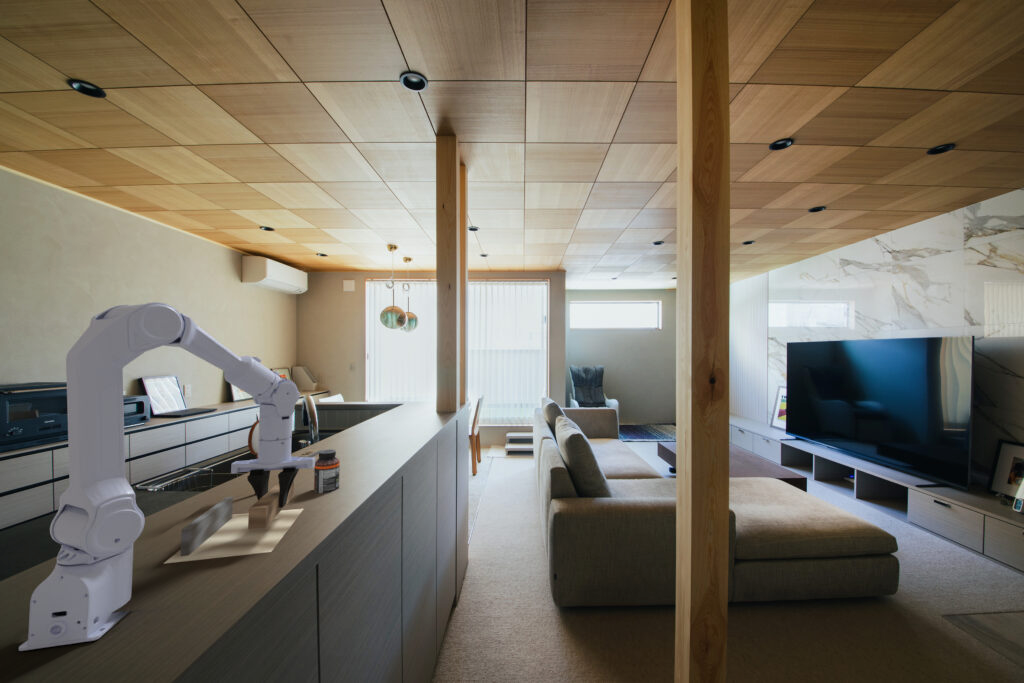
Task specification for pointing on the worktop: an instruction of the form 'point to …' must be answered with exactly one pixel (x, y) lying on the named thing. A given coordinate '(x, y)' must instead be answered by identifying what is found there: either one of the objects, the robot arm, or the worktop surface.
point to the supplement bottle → (326, 472)
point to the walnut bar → (267, 508)
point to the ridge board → (230, 534)
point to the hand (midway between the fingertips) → (273, 506)
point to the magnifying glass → (254, 439)
